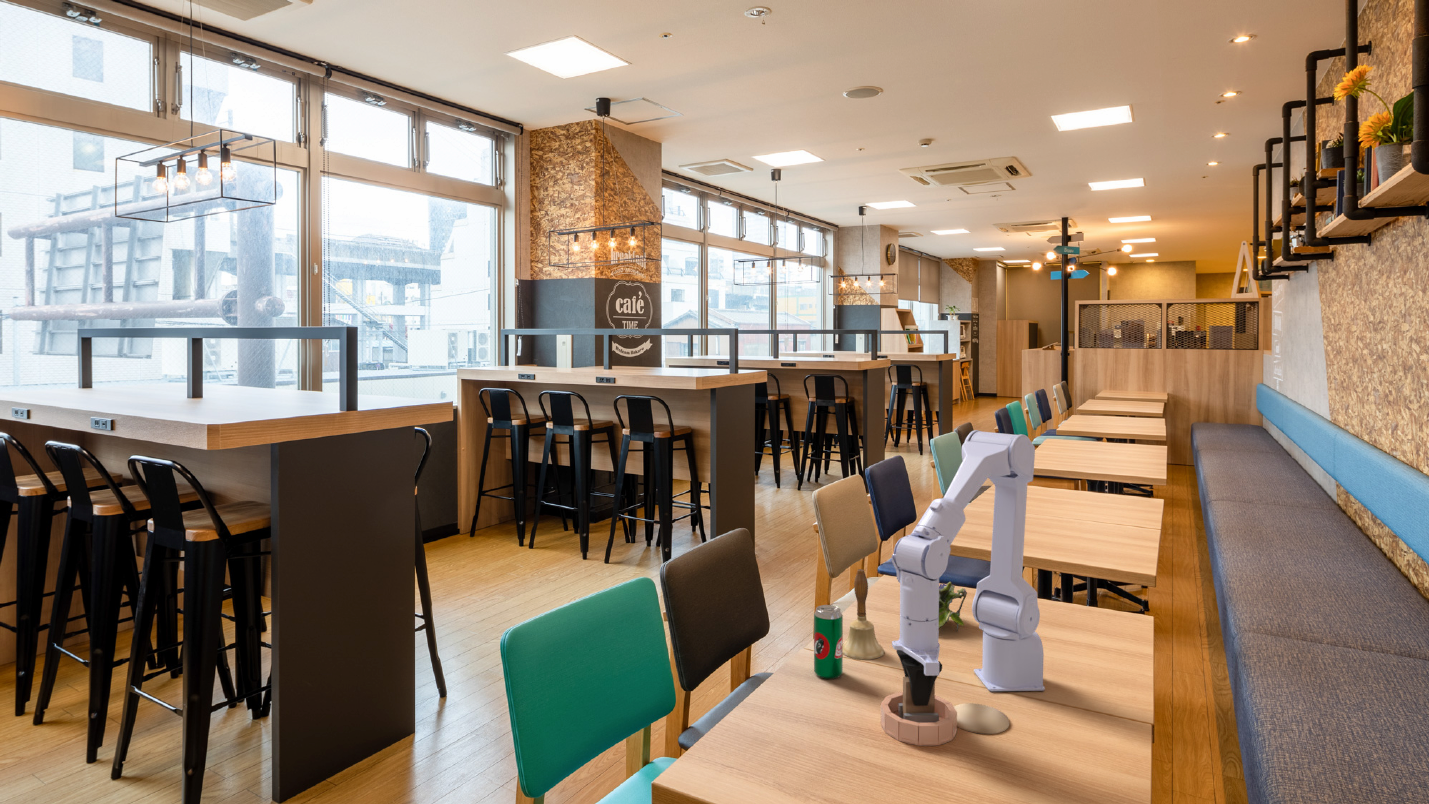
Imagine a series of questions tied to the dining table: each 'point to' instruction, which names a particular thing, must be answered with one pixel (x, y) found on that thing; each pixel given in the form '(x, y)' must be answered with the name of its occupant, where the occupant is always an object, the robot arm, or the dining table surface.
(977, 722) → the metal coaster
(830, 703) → the dining table surface
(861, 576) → the hand bell
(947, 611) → the green leafy plant
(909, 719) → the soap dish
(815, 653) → the soda can
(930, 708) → the brown rectangular block
